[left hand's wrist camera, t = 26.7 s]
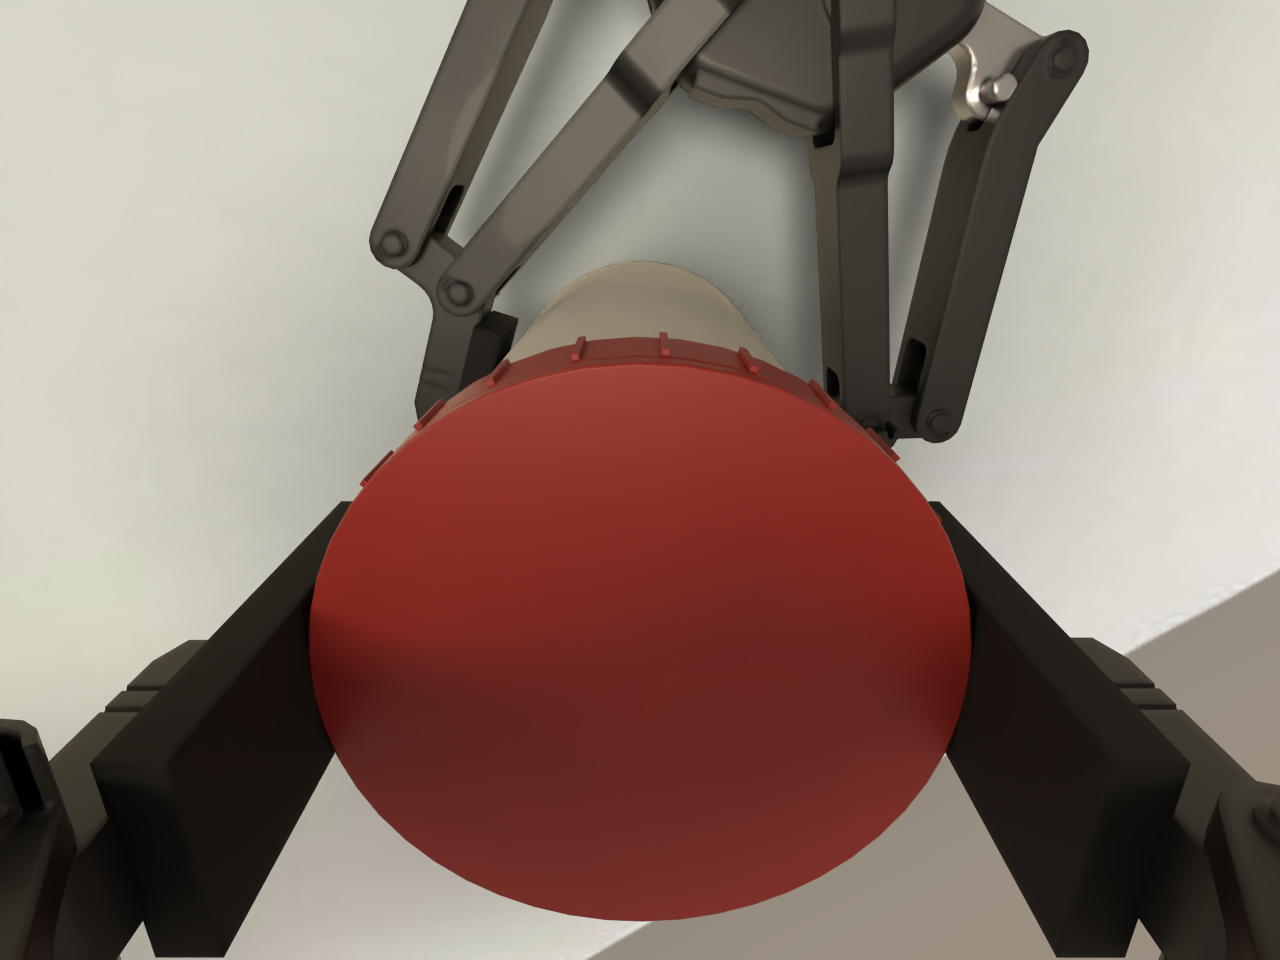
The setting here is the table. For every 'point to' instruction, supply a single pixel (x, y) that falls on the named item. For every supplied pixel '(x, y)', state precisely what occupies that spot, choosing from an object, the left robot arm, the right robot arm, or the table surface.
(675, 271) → the jar
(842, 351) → the right robot arm
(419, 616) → the lid
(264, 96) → the table surface
